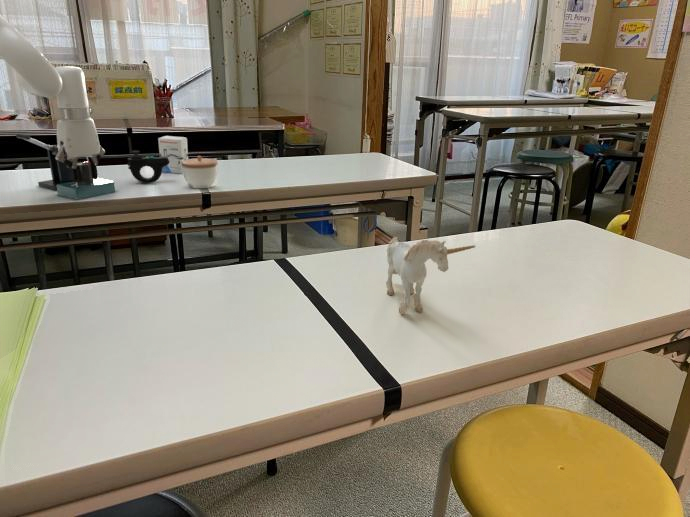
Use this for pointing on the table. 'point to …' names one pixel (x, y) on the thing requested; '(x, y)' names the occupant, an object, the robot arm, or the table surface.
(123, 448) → the table surface
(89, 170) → the dial
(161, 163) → the black holed piece
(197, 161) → the trinket box
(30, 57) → the robot arm
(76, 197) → the dial panel
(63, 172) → the toaster bracket
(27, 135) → the lever
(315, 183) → the table surface
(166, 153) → the ink box
